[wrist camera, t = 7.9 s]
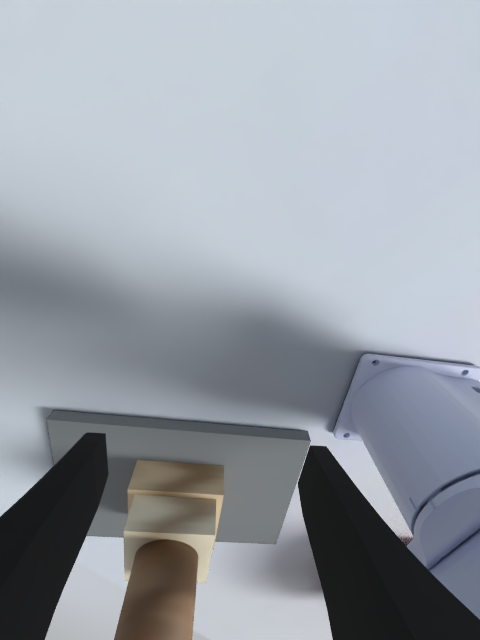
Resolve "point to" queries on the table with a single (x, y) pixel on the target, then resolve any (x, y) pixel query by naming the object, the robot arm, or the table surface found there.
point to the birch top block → (171, 527)
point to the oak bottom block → (178, 482)
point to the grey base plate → (194, 448)
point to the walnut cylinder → (160, 593)
